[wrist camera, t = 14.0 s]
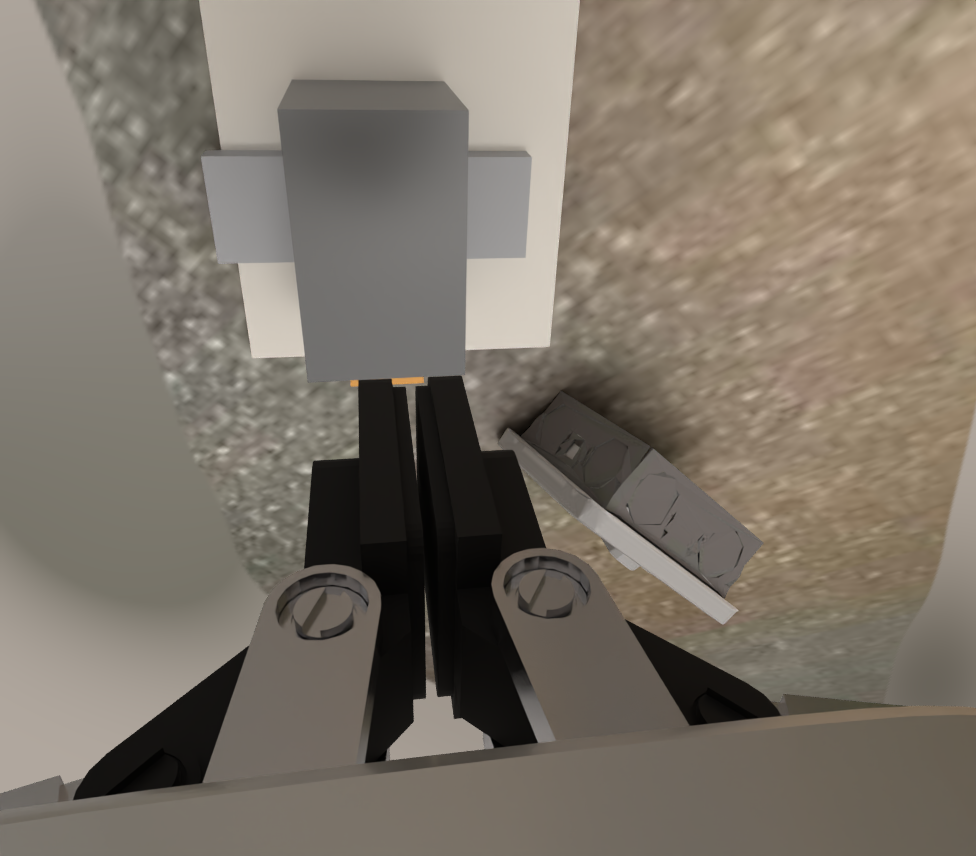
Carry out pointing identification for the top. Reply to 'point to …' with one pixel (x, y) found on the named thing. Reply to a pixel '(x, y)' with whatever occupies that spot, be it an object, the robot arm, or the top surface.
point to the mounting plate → (398, 57)
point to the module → (378, 226)
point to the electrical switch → (635, 503)
